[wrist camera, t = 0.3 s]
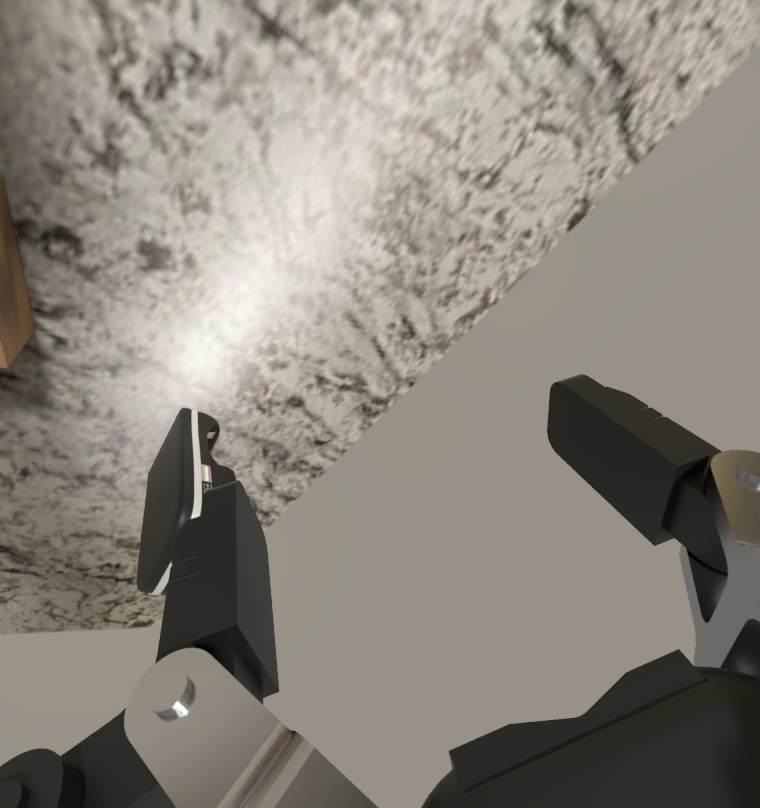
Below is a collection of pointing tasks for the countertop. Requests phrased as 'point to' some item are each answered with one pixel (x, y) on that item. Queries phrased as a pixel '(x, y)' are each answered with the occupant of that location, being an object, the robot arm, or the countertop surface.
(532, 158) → the countertop surface
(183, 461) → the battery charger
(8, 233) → the wooden box
